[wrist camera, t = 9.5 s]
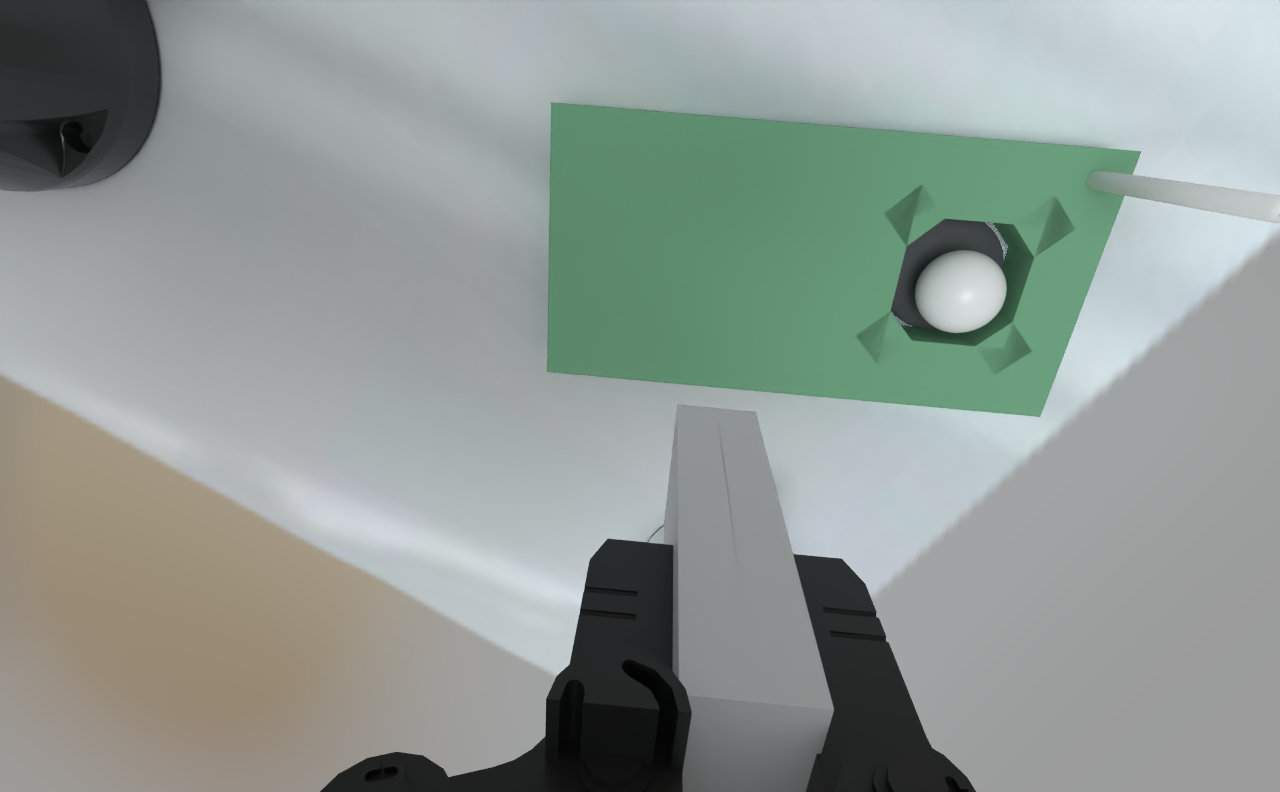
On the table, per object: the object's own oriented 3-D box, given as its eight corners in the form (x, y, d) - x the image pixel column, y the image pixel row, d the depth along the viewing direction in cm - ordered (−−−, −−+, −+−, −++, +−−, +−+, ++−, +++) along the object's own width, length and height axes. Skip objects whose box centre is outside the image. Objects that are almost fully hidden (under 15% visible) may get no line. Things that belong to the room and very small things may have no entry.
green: (555, 355, 36) (501, 462, 25) (560, 103, 30) (494, 98, 19) (1061, 401, 35) (1235, 531, 24) (1158, 153, 30) (1439, 176, 19)
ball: (959, 348, 29) (1007, 340, 31) (988, 263, 27) (1036, 259, 29) (888, 321, 32) (936, 315, 34) (910, 242, 30) (959, 240, 32)
